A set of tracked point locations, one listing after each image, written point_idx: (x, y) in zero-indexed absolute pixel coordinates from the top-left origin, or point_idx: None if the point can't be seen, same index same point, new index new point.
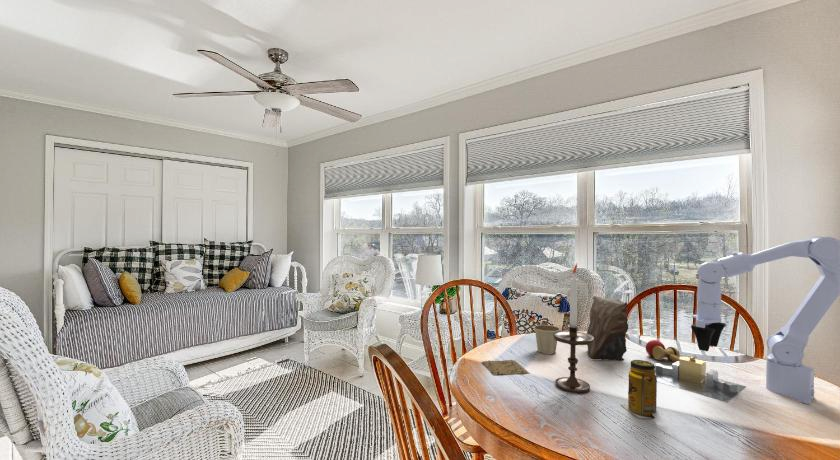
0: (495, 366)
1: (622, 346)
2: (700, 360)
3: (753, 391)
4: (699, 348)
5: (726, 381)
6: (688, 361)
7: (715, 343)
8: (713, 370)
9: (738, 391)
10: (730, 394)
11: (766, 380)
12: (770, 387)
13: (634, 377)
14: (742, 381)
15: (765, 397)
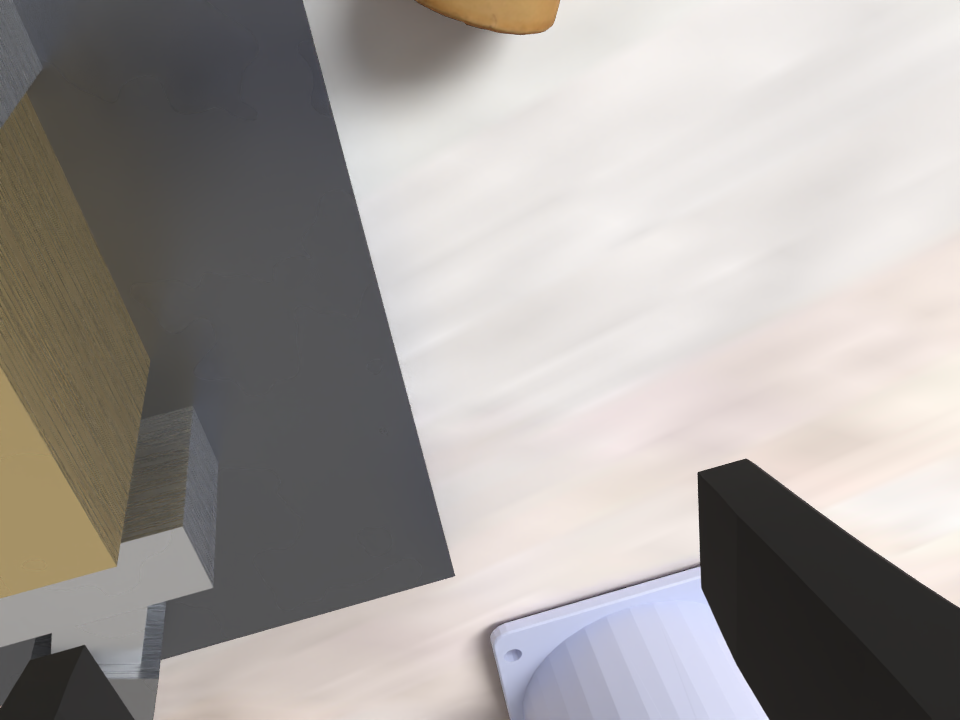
0: None
1: None
2: (69, 504)
3: (454, 593)
4: (12, 699)
5: (410, 445)
6: None
7: (735, 639)
8: (166, 558)
9: (208, 638)
10: (23, 669)
11: (609, 697)
12: (547, 700)
13: None
14: (676, 420)
15: (394, 684)
